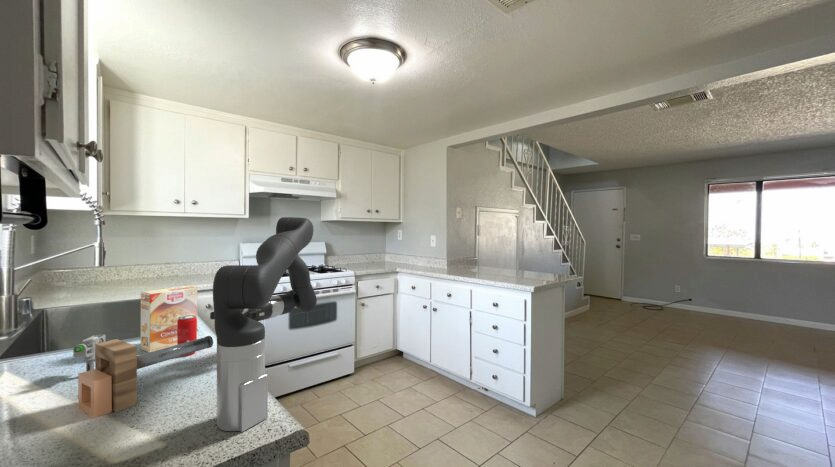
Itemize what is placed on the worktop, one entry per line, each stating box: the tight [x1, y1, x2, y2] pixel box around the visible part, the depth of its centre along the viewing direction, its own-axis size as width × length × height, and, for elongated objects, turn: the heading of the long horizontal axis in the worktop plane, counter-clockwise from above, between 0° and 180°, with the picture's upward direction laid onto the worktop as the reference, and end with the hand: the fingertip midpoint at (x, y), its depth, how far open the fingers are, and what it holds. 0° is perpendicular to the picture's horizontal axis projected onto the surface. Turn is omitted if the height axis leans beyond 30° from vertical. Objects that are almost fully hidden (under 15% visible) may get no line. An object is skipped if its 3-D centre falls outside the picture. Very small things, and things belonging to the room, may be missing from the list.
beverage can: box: [177, 315, 198, 357], centre depth 112 cm, size 5×5×12 cm
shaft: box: [137, 335, 214, 370], centre depth 91 cm, size 21×3×3 cm, turn 152°
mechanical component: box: [72, 334, 107, 372], centre depth 95 cm, size 3×10×10 cm, turn 15°
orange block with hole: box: [77, 368, 113, 419], centre depth 77 cm, size 8×3×8 cm, turn 62°
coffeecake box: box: [140, 285, 198, 353], centre depth 120 cm, size 15×7×20 cm, turn 150°
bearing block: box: [94, 338, 138, 413], centre depth 81 cm, size 10×4×14 cm, turn 62°
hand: (219, 317), depth 102 cm, fingers open, 8 cm apart
